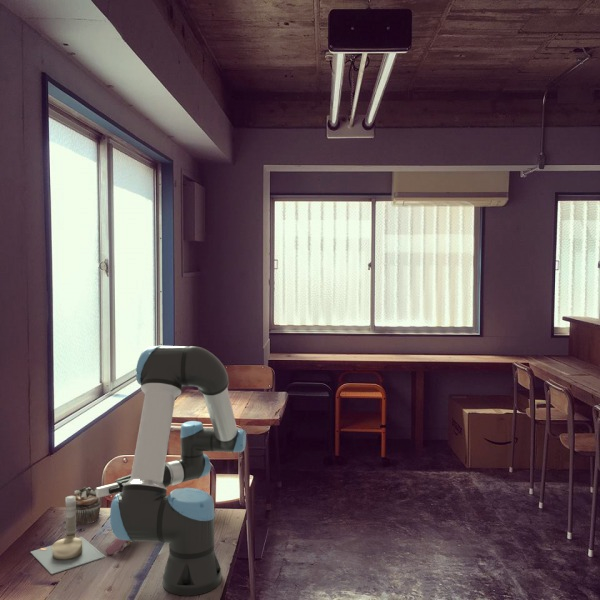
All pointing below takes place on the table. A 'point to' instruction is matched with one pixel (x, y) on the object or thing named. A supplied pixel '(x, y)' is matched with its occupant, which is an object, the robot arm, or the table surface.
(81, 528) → the table surface
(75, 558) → the base
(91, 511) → the cupcake
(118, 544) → the video game controller
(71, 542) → the cream oval with post
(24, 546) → the table surface
